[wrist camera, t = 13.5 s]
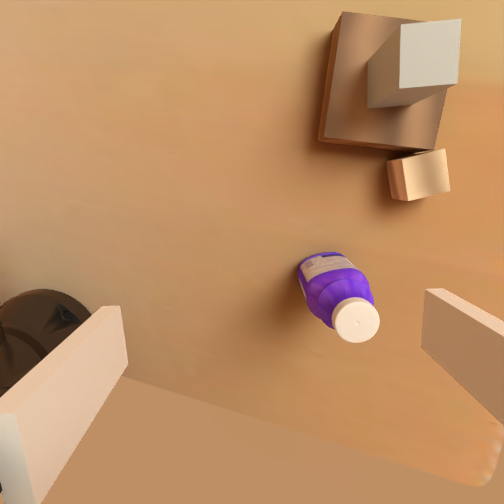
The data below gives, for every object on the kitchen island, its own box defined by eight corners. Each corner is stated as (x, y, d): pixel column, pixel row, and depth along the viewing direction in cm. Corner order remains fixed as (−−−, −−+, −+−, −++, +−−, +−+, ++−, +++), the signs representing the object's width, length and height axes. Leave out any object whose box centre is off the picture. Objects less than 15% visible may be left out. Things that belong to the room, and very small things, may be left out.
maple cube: (391, 198, 45) (408, 201, 40) (385, 161, 44) (402, 159, 39) (428, 189, 44) (450, 190, 39) (423, 151, 43) (445, 148, 38)
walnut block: (316, 141, 43) (323, 137, 39) (332, 31, 41) (342, 11, 36) (413, 153, 44) (433, 149, 39) (436, 44, 41) (461, 25, 36)
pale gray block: (367, 108, 38) (399, 88, 29) (367, 60, 37) (400, 24, 28) (411, 105, 38) (457, 83, 29) (413, 56, 36) (461, 18, 28)
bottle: (300, 294, 48) (325, 359, 31) (291, 257, 46) (312, 304, 29) (350, 283, 47) (404, 342, 30) (342, 245, 46) (394, 284, 29)
